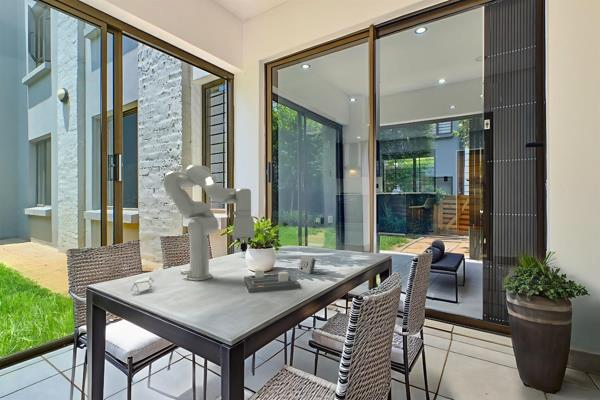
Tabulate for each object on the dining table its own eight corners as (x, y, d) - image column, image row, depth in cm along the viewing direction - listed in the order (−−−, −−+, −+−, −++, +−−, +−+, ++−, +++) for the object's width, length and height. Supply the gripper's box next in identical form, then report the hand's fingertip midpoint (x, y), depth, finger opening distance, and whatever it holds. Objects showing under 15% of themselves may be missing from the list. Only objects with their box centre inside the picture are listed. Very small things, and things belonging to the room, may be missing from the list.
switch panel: (248, 292, 138) (248, 286, 138) (244, 280, 157) (244, 274, 157) (300, 288, 145) (300, 282, 145) (289, 277, 164) (289, 271, 164)
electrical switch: (297, 271, 176) (299, 255, 177) (304, 270, 180) (305, 254, 180) (308, 274, 169) (310, 257, 170) (315, 274, 173) (317, 257, 173)
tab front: (279, 283, 146) (279, 273, 146) (278, 281, 149) (278, 272, 149) (288, 282, 147) (288, 273, 147) (286, 280, 150) (286, 271, 150)
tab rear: (256, 279, 152) (256, 270, 151) (255, 277, 155) (255, 269, 155) (264, 279, 153) (264, 270, 153) (262, 277, 156) (262, 268, 156)
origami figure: (148, 293, 136) (148, 282, 136) (129, 294, 136) (129, 283, 136) (159, 285, 148) (159, 275, 148) (142, 286, 148) (141, 275, 148)
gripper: (228, 214, 145) (228, 253, 145) (259, 213, 149) (260, 251, 150) (227, 213, 152) (227, 250, 153) (257, 213, 157) (257, 249, 157)
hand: (243, 251), depth 151 cm, fingers closed
